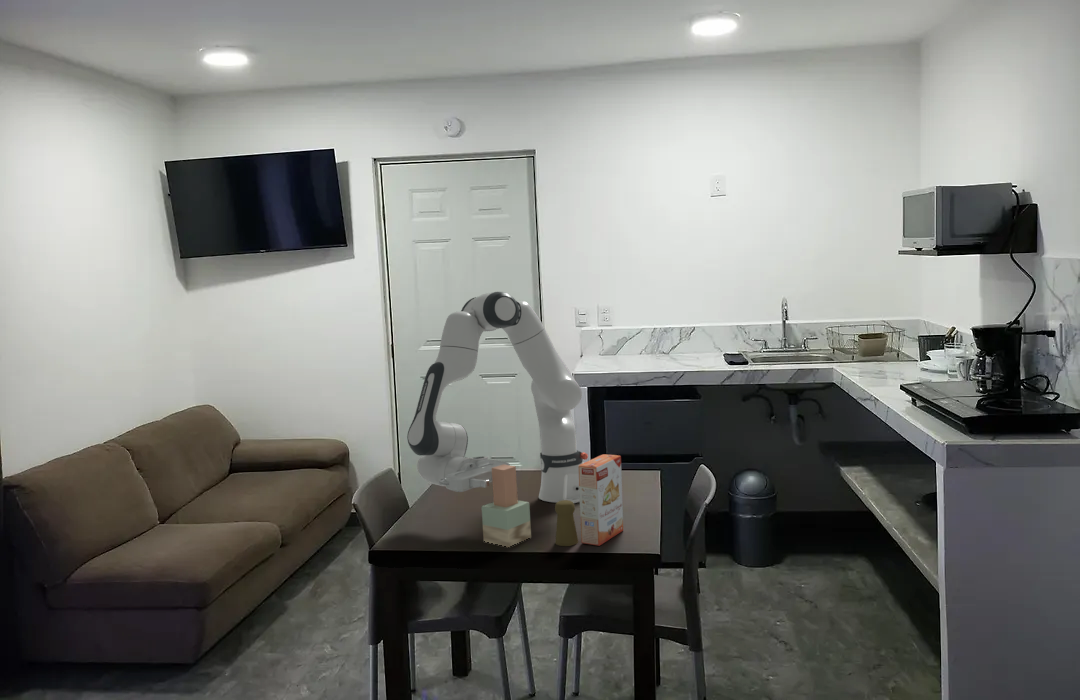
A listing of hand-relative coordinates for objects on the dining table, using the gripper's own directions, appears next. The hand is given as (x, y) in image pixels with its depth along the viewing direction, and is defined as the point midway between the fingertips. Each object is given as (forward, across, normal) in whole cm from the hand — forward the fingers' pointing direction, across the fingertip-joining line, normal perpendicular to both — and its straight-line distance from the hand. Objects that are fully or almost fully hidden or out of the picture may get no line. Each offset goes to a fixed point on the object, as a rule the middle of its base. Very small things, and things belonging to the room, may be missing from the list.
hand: (499, 479), depth 225 cm
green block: (+2, 0, +11) cm, 11 cm away
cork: (+17, +6, +16) cm, 24 cm away
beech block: (+2, 0, +16) cm, 16 cm away
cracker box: (+23, +14, +16) cm, 32 cm away
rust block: (+2, 0, +6) cm, 7 cm away
